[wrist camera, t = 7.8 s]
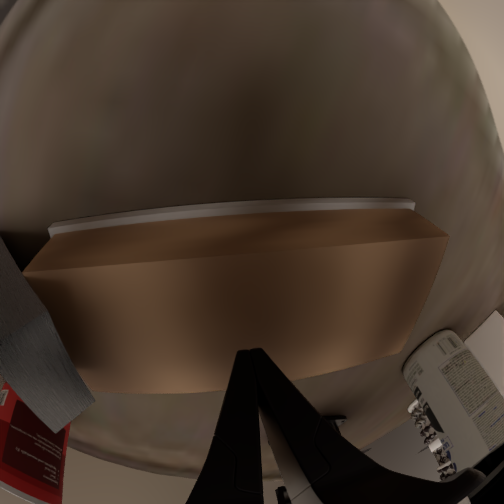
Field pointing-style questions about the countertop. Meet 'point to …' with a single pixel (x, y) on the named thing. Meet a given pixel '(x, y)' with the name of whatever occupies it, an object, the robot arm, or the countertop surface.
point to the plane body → (235, 288)
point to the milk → (490, 348)
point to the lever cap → (36, 352)
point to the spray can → (456, 398)
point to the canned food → (30, 452)
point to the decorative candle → (431, 439)
